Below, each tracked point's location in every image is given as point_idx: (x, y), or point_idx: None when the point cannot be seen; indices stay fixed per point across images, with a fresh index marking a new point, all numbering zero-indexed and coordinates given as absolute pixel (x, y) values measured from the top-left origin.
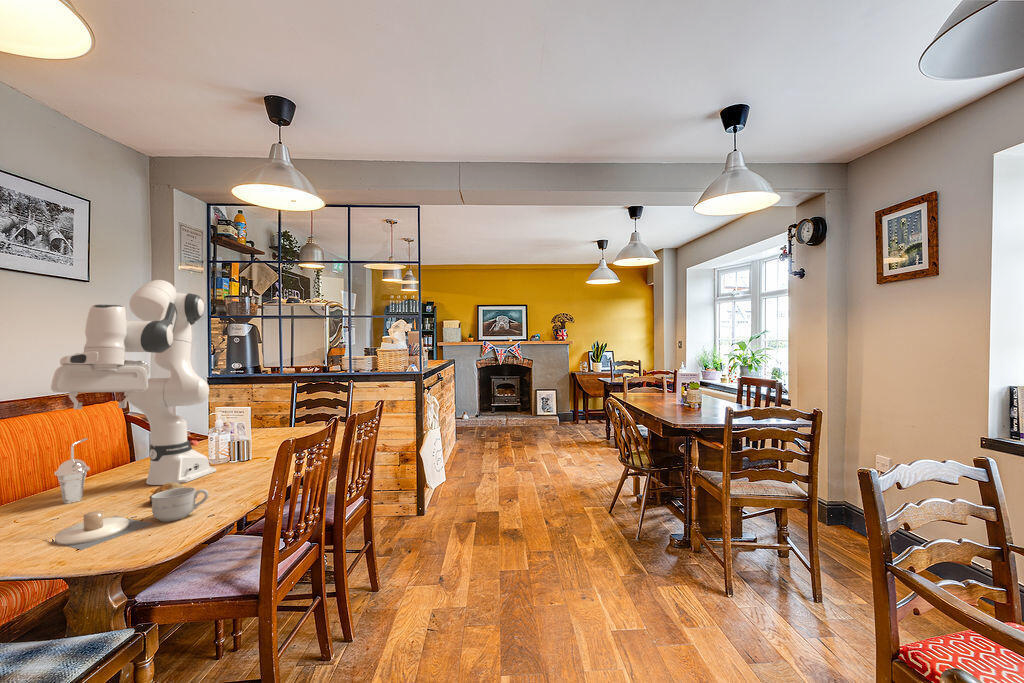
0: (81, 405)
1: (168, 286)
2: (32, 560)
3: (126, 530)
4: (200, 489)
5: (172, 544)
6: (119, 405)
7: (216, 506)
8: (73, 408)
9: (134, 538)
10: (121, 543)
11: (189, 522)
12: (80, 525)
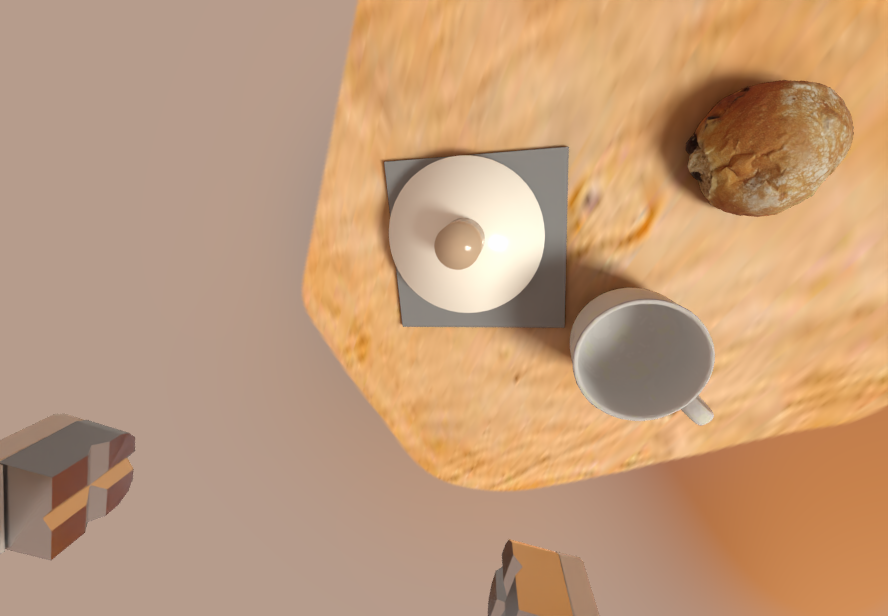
0: (85, 522)
1: None
2: (338, 277)
3: (507, 306)
4: (698, 414)
5: (502, 465)
6: (504, 590)
7: (742, 359)
8: (59, 417)
9: (490, 363)
10: (462, 363)
11: None
12: (459, 178)
